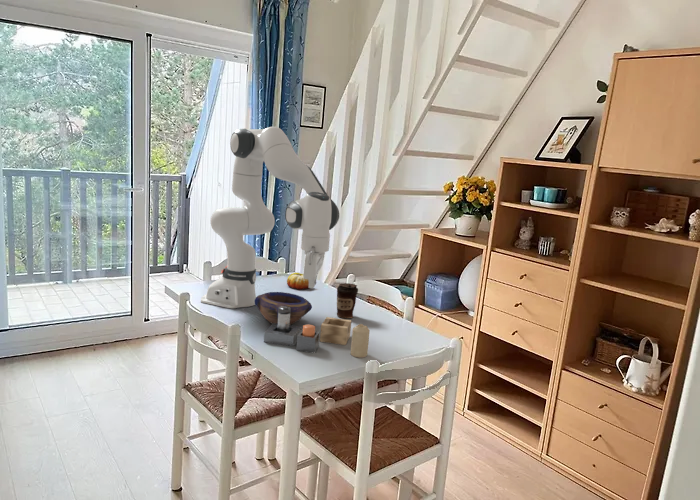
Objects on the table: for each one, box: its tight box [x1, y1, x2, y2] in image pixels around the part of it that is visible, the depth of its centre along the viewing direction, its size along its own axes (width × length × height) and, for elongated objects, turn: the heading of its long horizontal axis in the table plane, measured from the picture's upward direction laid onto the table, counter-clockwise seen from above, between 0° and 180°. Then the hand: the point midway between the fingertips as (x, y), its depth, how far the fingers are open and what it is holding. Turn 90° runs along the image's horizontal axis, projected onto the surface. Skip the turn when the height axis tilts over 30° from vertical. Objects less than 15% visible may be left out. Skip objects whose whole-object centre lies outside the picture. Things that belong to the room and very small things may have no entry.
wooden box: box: [319, 316, 352, 346], centre depth 185 cm, size 9×9×6 cm
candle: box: [350, 323, 370, 359], centre depth 172 cm, size 6×6×10 cm
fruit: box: [286, 272, 310, 291], centre depth 247 cm, size 11×10×8 cm
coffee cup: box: [336, 282, 359, 319], centre depth 209 cm, size 9×8×13 cm
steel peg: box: [277, 306, 291, 333], centre depth 180 cm, size 4×4×11 cm
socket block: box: [263, 323, 302, 347], centre depth 181 cm, size 10×10×4 cm
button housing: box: [296, 329, 321, 354], centre depth 174 cm, size 6×6×5 cm
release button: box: [302, 324, 316, 337], centre depth 174 cm, size 4×4×4 cm
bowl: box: [254, 291, 313, 325], centre depth 197 cm, size 18×18×10 cm
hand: (312, 286), depth 171 cm, fingers closed
